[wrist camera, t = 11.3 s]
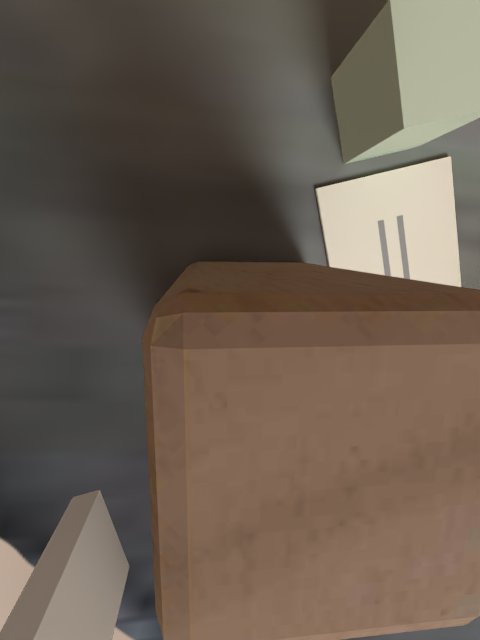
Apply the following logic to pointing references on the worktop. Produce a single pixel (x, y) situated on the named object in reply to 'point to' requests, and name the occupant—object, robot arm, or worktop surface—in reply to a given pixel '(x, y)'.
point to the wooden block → (312, 453)
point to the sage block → (409, 77)
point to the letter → (394, 223)
